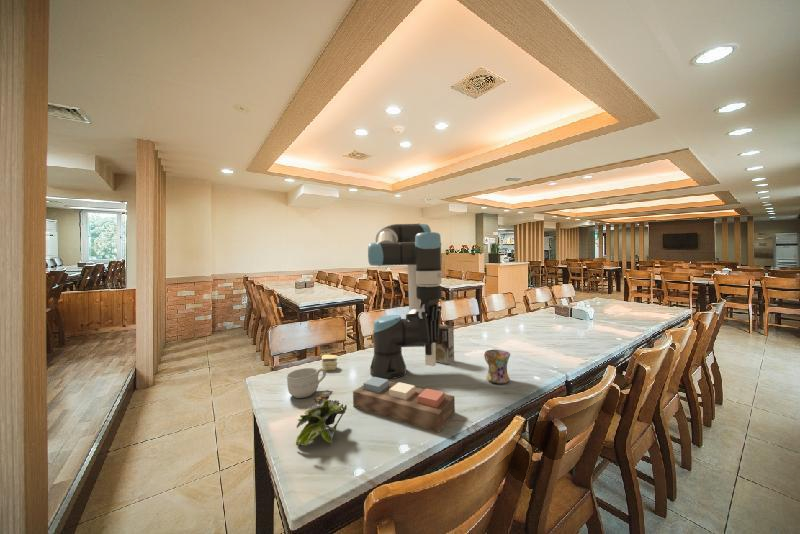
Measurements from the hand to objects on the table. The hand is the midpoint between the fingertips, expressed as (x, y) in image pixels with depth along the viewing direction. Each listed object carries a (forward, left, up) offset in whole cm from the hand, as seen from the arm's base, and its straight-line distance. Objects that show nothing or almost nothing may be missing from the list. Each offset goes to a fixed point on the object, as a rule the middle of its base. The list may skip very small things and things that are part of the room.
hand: (430, 364), depth 89 cm
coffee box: (-16, +47, -16) cm, 52 cm away
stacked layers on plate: (-57, +16, -17) cm, 61 cm away
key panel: (-10, 0, -16) cm, 19 cm away
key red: (0, 0, -13) cm, 13 cm away
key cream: (-10, 0, -13) cm, 16 cm away
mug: (+10, +37, -16) cm, 42 cm away
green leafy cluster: (-21, -23, -16) cm, 35 cm away
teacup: (-46, -6, -16) cm, 49 cm away
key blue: (-20, 0, -13) cm, 24 cm away
